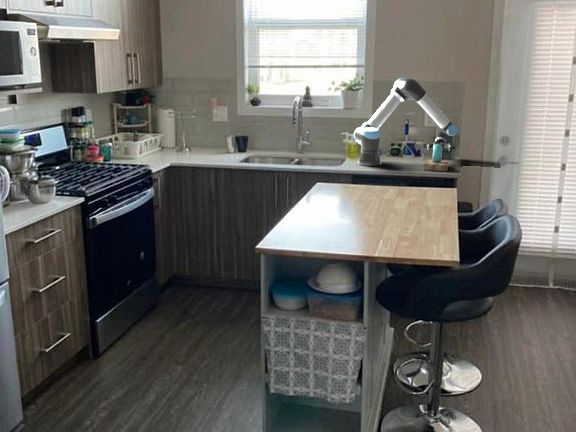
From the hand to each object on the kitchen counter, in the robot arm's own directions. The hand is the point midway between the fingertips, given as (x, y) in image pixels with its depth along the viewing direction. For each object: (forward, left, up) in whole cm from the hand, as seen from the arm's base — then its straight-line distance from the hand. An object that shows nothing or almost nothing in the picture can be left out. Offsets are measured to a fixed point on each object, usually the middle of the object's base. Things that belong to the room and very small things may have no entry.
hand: (438, 148), depth 410 cm
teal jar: (0, -8, -8) cm, 11 cm away
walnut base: (0, -8, -12) cm, 14 cm away
